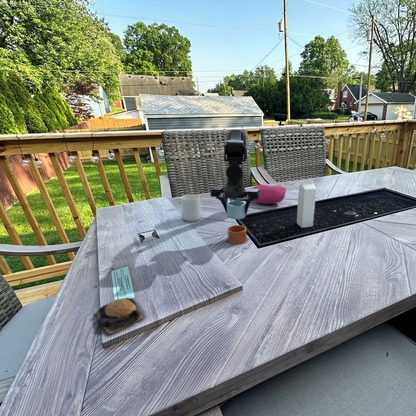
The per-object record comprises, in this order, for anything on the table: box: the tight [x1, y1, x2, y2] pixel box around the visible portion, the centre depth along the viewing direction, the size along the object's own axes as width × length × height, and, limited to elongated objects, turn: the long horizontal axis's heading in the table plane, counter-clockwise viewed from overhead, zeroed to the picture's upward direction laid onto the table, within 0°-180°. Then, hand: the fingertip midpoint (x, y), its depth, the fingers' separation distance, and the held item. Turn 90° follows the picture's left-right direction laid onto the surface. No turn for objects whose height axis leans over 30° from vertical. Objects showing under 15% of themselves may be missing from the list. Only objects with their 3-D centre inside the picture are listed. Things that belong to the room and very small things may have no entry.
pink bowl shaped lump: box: [248, 184, 287, 205], centre depth 155 cm, size 23×19×10 cm
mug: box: [180, 193, 203, 223], centre depth 126 cm, size 12×9×11 cm
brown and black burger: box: [96, 297, 144, 336], centre depth 65 cm, size 11×8×4 cm
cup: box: [227, 224, 247, 245], centre depth 107 cm, size 7×7×5 cm
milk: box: [296, 179, 317, 229], centre depth 123 cm, size 6×6×22 cm
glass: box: [226, 200, 247, 220], centre depth 105 cm, size 7×7×6 cm
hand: (236, 213), depth 105 cm, fingers closed on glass, 7 cm apart
